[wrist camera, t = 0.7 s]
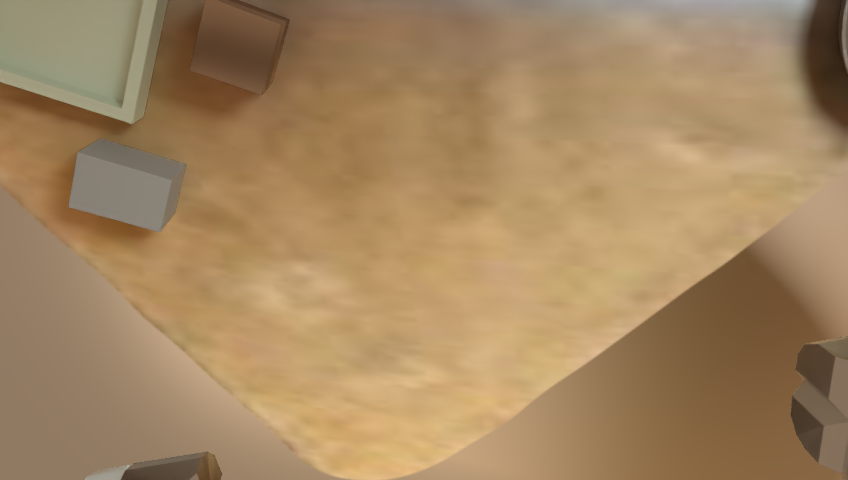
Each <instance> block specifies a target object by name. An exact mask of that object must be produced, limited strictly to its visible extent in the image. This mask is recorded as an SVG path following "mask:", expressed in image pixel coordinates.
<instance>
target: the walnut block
mask: <svg viewBox="0 0 848 480" xmlns="http://www.w3.org/2000/svg"><path fill="white" fill-rule="evenodd" d="M288 24H289V19H286V18H284V17H281V16H278V15H276V14H273V13H271V12H268V11H265V10H263V9H260V8H257V7H255V6H252V5H249V4H247V3H244V2H241V1H239V0H205V4H204V9H203V13H202V17H201V22H200V26H199V30H198V35H197V39H196V43H195V48H194V52H193V57H192V61H191V65H190V71H193V72H196V73H199V74H201V75H204V76H207V77H210V78H213V79H216V80H219V81H222V82H225V83H228V84H230V85H233V86H236V87H239V88H242V89H245V90H248V91H251V92H254V93H257V94H259V95H262V94H263V93H264V92H265V91H266V90H267V88H268V87H269V86H270V85H271V84H272V81H273V78H274V74H275V71H276V67H277V63H278V60H279V56H280V53H281V49H282V45H283V42H284V38H285V35H286V31H287V27H288Z"/></svg>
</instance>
